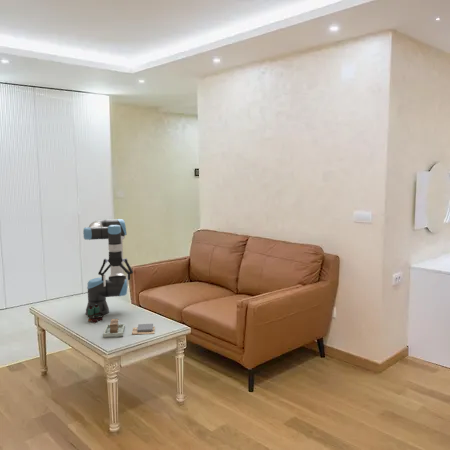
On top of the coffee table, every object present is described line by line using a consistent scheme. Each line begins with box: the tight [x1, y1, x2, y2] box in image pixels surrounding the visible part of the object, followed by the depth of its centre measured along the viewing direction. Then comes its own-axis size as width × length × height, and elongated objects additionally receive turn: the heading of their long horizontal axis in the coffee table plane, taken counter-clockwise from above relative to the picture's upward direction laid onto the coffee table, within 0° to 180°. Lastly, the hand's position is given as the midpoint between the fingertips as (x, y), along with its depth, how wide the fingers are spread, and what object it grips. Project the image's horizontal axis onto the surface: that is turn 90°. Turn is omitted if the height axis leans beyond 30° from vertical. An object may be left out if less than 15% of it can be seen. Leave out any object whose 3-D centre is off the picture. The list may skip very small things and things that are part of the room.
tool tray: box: [102, 323, 126, 339], centre depth 261 cm, size 16×11×2 cm
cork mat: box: [131, 326, 156, 336], centre depth 263 cm, size 11×13×1 cm
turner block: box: [109, 318, 119, 333], centre depth 260 cm, size 10×4×6 cm, turn 10°
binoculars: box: [87, 303, 105, 323], centre depth 281 cm, size 9×11×10 cm
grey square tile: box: [136, 323, 154, 332], centre depth 265 cm, size 1×9×10 cm
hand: (116, 285), depth 266 cm, fingers open, 13 cm apart
